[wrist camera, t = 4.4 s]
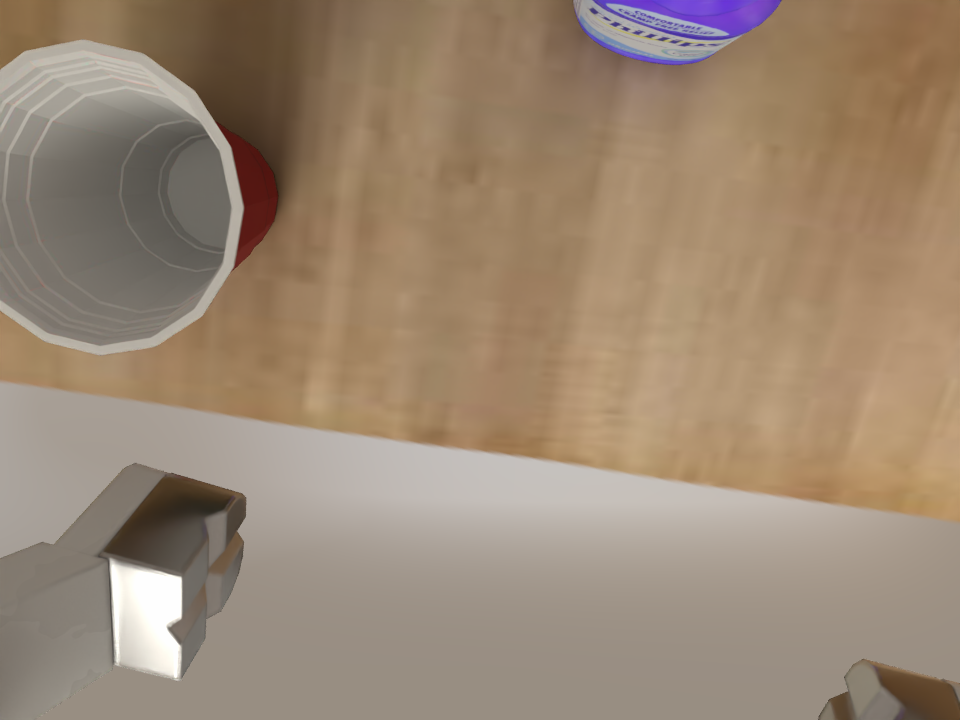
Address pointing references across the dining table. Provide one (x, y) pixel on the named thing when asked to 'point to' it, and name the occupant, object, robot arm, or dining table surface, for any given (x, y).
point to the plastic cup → (118, 198)
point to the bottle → (670, 26)
